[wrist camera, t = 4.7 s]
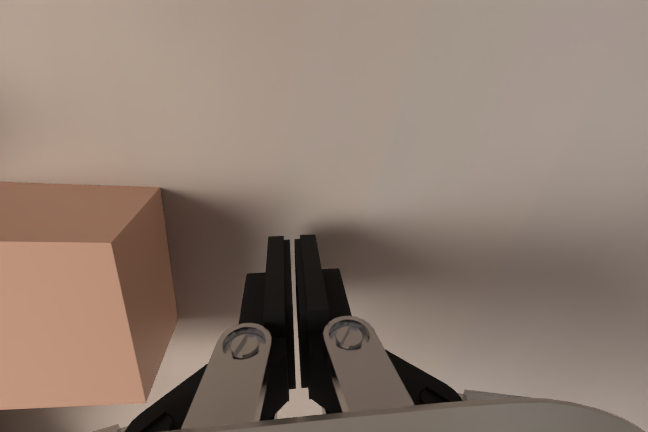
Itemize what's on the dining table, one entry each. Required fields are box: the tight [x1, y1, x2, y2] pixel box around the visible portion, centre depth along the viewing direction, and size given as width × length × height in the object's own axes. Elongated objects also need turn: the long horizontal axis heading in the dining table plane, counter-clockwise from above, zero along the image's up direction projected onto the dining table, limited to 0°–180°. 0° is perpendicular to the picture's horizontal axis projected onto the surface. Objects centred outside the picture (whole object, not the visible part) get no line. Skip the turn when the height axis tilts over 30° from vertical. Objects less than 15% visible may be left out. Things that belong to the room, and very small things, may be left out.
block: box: [0, 182, 178, 410], centre depth 11 cm, size 6×6×4 cm
